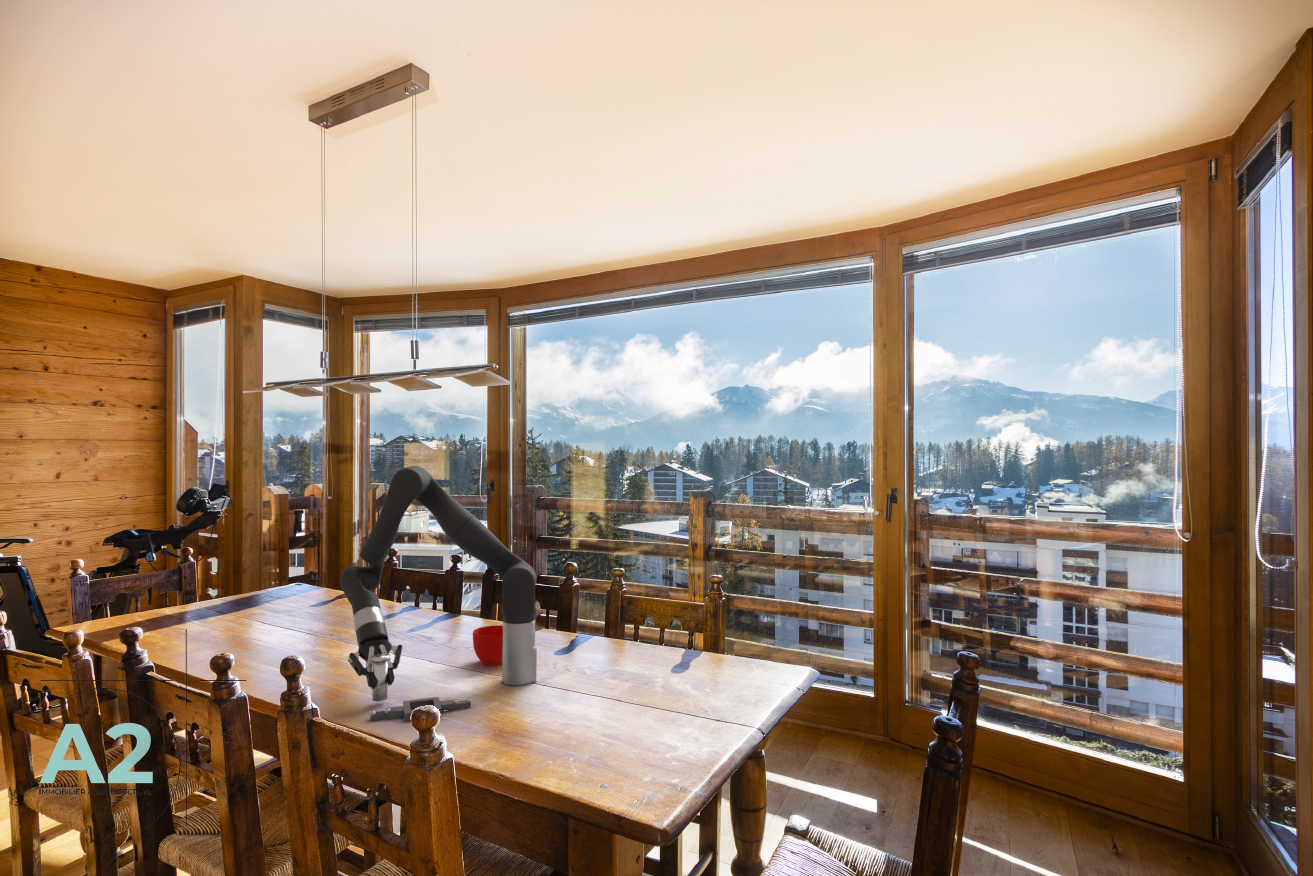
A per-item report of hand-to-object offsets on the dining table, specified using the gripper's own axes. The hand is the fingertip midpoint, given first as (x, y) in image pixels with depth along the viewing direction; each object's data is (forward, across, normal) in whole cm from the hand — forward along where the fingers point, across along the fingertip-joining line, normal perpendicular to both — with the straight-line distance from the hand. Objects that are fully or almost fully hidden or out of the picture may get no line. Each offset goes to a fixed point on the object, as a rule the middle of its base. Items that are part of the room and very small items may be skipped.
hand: (382, 685), depth 166 cm
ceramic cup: (-7, +38, +15) cm, 42 cm away
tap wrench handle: (+11, +7, -3) cm, 14 cm away
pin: (+1, 0, +4) cm, 5 cm away
